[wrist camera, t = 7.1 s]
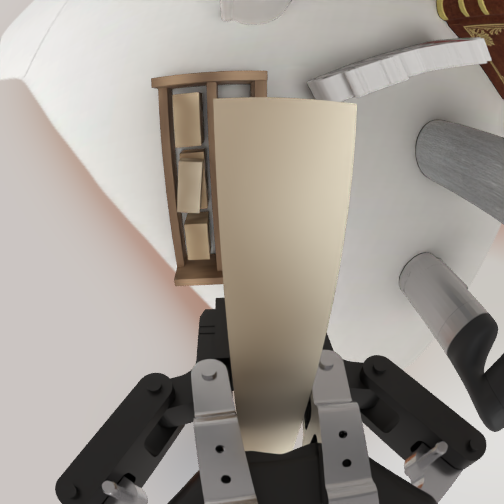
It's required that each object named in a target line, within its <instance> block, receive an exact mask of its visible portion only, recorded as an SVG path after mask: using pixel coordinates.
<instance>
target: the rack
mask: <svg viewBox="0 0 504 504" xmlns="http://www.w3.org/2000/svg"><path fill="white" fill-rule="evenodd" d="M225 84H250V91H251V97H267V71H218V72H203V73H191V74H181V75H173V76H165V77H158V78H151V85H152V88H157V89H158V94H159V114H160V129H161V143H162V154H163V165H164V175H165V184H166V193H167V201H168V209H169V216H170V223H171V230H172V237H173V244H174V250H175V256H176V262H177V270H176V274H175V279H174V281H175V286H191V285H213V284H223V271H222V258H221V245H220V230H219V215H218V198H217V179H216V159H215V135H214V106H213V99H216V98H218V85H225ZM194 86H207V115H208V140H209V160H210V178H211V195H212V210H213V224H214V237H215V249H216V254H210V259H202V260H188V255H187V253H186V245H185V238H184V230H183V222H182V214H181V212H177V198H178V175H177V164H176V152H175V138H174V123H173V103H172V89H175V88H184V87H194Z"/></svg>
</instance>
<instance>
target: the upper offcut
mask: <svg viewBox="0 0 504 504" xmlns="http://www.w3.org/2000/svg"><path fill="white" fill-rule="evenodd" d="M203 162H204V159H196V158H181V159H180V160H179V165H178V198H177V212H184V213H200V209H201V195H202V177H203Z"/></svg>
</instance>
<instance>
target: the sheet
mask: <svg viewBox="0 0 504 504" xmlns="http://www.w3.org/2000/svg"><path fill="white" fill-rule="evenodd" d="M213 106H214V135H215V159H216V179H217V198H218V215H219V230H220V245H221V258H222V271H223V284H224V296H225V307H226V318H227V329H228V339H229V349H230V359H231V369H232V378H233V387H234V395H235V404H236V412H237V418H238V423H239V427H240V432H241V437H242V441H243V445H244V450H245V451H258V452H265V453H274V454H284V453H287V452H289V451H292V450H293V447H294V444H295V441H296V438H297V435H298V432H299V429H300V426H301V423H302V420H303V417H304V414H305V410H306V407H307V404H308V400H309V397H310V394H311V390H312V387H313V383H314V379H315V376H316V372H317V368H318V364H319V361H320V357H321V353H322V349H323V345H324V340H325V336H326V332H327V328H328V323H329V319H330V314H331V309H332V304H333V300H334V295H335V289H336V284H337V279H338V273H339V268H340V262H341V256H342V250H343V244H344V237H345V230H346V223H347V216H348V208H349V200H350V191H351V182H352V172H353V161H354V148H355V134H356V114H357V104H352V103H344V102H335V101H325V100H314V99H299V98H272V97H242V98H216V99H213Z"/></svg>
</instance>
